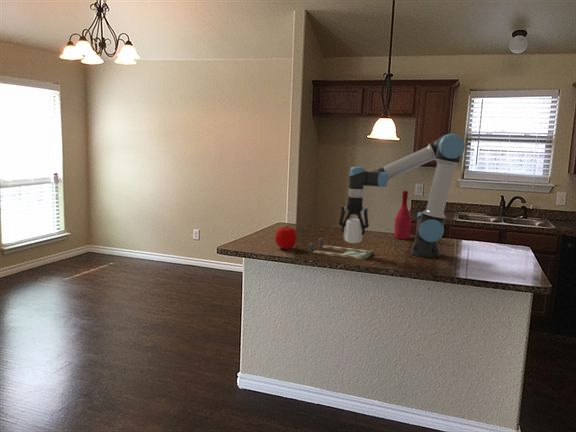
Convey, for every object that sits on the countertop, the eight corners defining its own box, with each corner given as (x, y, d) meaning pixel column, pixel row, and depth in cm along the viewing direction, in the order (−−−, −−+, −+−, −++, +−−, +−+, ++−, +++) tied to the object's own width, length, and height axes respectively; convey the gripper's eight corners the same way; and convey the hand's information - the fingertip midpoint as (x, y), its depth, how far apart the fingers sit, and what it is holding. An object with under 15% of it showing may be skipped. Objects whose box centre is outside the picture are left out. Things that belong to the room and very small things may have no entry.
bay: (372, 253, 252) (373, 244, 251) (365, 260, 237) (365, 250, 236) (319, 246, 264) (320, 237, 263) (309, 252, 248) (309, 243, 247)
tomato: (300, 249, 256) (301, 226, 254) (286, 252, 248) (287, 228, 246) (284, 245, 265) (285, 223, 262) (269, 248, 256) (270, 225, 254)
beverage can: (359, 244, 242) (361, 221, 240) (344, 242, 244) (345, 220, 242) (360, 240, 250) (362, 218, 248) (345, 239, 251) (346, 217, 249)
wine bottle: (412, 238, 296) (415, 190, 291) (406, 240, 288) (410, 192, 283) (397, 236, 301) (400, 189, 296) (391, 238, 293) (394, 190, 288)
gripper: (377, 197, 242) (374, 240, 246) (338, 194, 250) (335, 236, 254) (373, 199, 235) (370, 243, 239) (334, 195, 243) (331, 238, 247)
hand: (352, 239), depth 246 cm, fingers closed on beverage can, 8 cm apart
